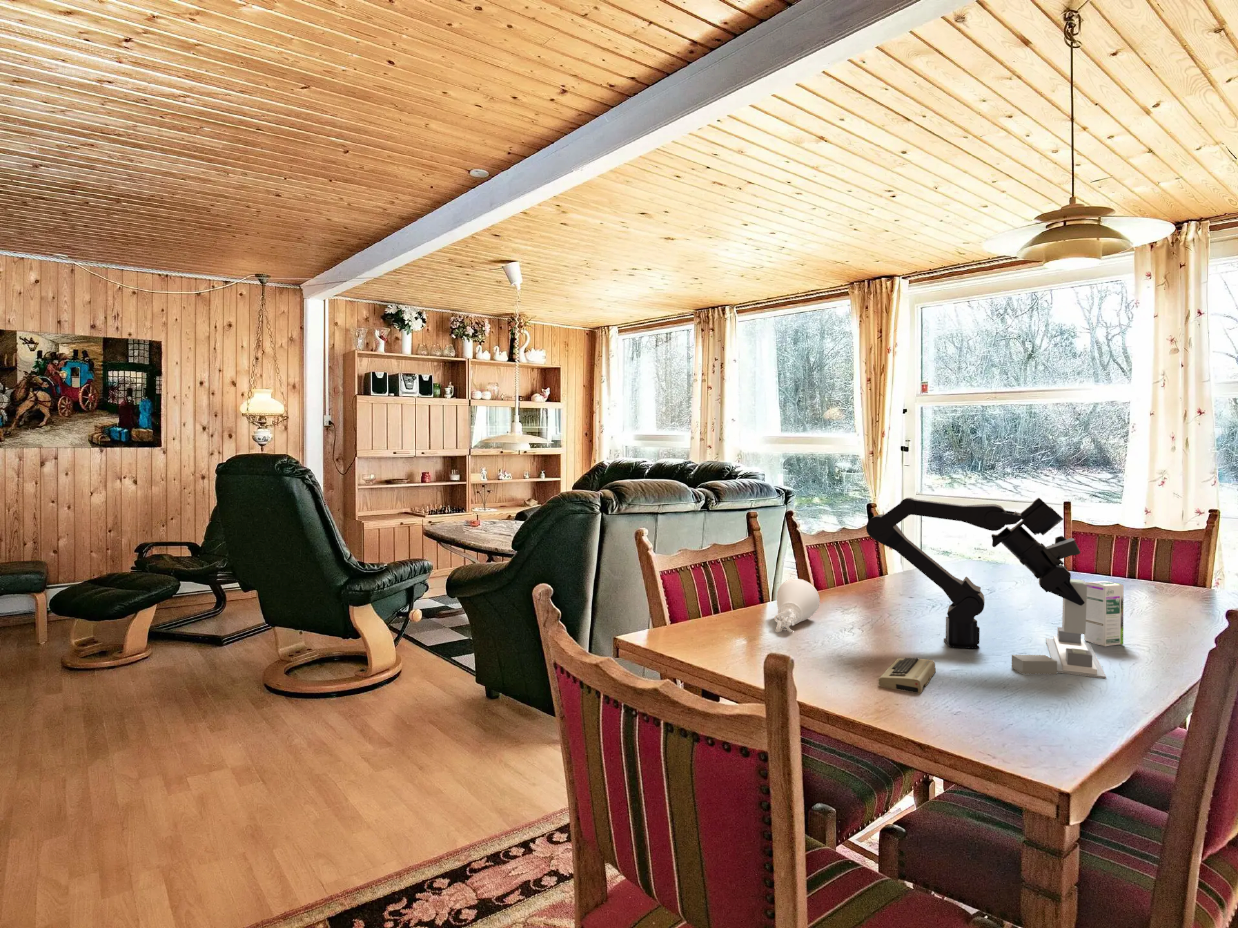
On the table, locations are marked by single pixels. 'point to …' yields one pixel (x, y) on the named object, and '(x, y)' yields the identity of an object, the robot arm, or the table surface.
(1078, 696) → the table surface
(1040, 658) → the block
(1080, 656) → the module near
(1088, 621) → the syrup box
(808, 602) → the rocket engine
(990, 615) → the table surface
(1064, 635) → the module far
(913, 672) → the computer
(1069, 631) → the panel
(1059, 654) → the rail
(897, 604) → the table surface
